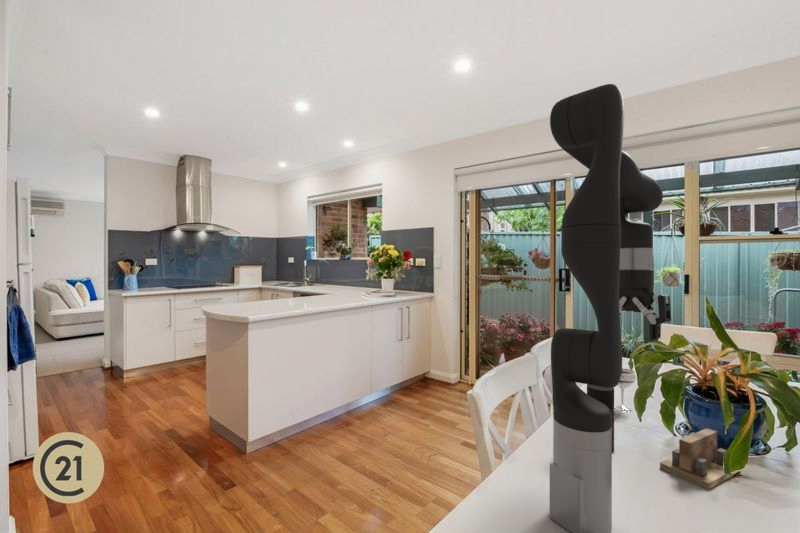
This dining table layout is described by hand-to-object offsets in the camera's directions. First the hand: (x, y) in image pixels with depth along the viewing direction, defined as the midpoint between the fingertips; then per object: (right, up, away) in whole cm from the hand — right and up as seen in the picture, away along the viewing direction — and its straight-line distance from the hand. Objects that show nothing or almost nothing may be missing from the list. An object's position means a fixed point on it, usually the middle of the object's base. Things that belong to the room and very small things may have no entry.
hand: (634, 337), depth 86 cm
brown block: (+11, -27, -5) cm, 29 cm away
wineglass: (+16, -29, +31) cm, 45 cm away
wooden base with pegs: (+11, -28, -5) cm, 31 cm away
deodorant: (-5, -28, +5) cm, 29 cm away
